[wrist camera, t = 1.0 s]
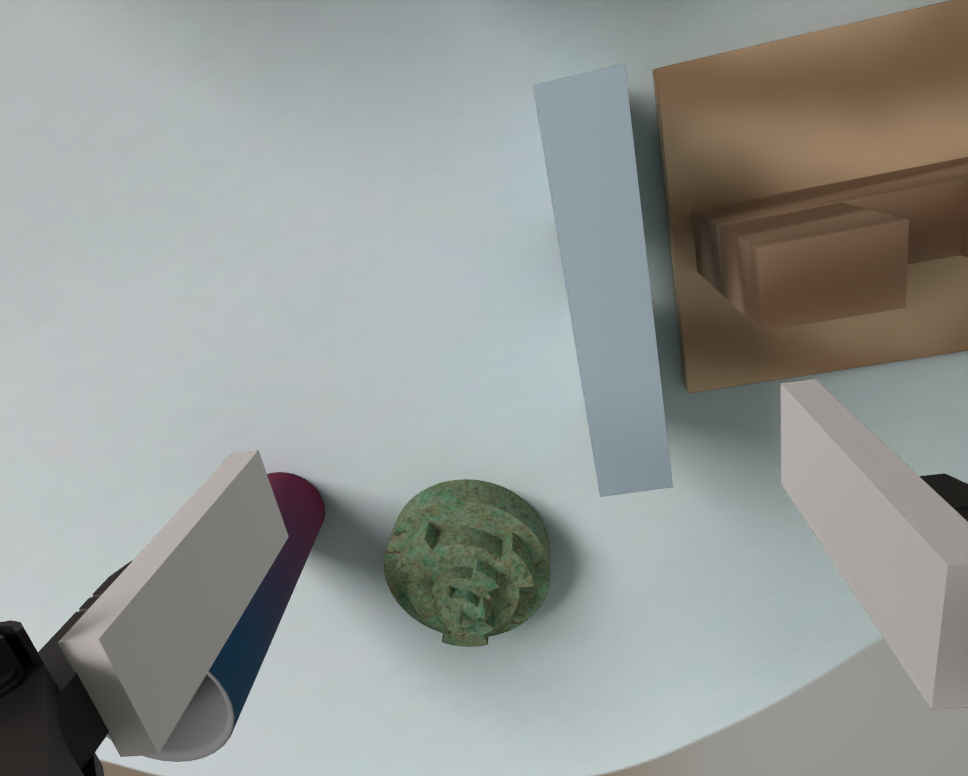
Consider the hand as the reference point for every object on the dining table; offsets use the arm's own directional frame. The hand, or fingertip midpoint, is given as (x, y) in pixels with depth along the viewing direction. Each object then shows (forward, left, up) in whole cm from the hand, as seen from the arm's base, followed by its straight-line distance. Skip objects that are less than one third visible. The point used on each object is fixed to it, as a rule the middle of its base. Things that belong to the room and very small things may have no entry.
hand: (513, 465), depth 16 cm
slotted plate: (-1, +4, -19) cm, 20 cm away
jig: (-1, +16, -19) cm, 25 cm away
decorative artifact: (+16, -7, -20) cm, 26 cm away
